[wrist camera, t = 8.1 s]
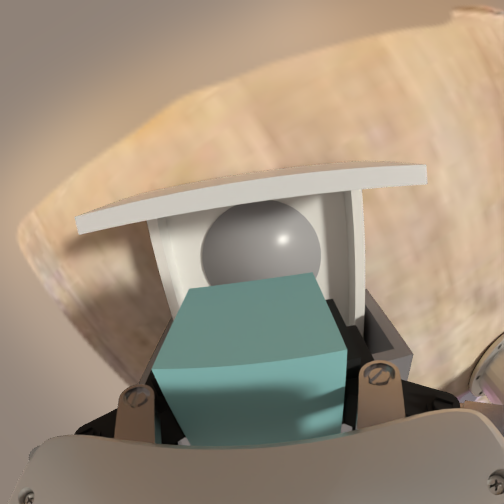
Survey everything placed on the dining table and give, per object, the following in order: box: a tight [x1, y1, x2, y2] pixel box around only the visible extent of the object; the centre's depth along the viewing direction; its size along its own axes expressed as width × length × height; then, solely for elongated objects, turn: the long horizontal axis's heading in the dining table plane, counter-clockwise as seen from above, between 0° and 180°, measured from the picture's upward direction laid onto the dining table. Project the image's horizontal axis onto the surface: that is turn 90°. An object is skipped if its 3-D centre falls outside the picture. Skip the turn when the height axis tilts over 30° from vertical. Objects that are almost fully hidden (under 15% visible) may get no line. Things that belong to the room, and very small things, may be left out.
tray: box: [75, 161, 427, 337], centre depth 19 cm, size 18×18×9 cm
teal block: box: [152, 272, 347, 446], centre depth 10 cm, size 5×5×5 cm
